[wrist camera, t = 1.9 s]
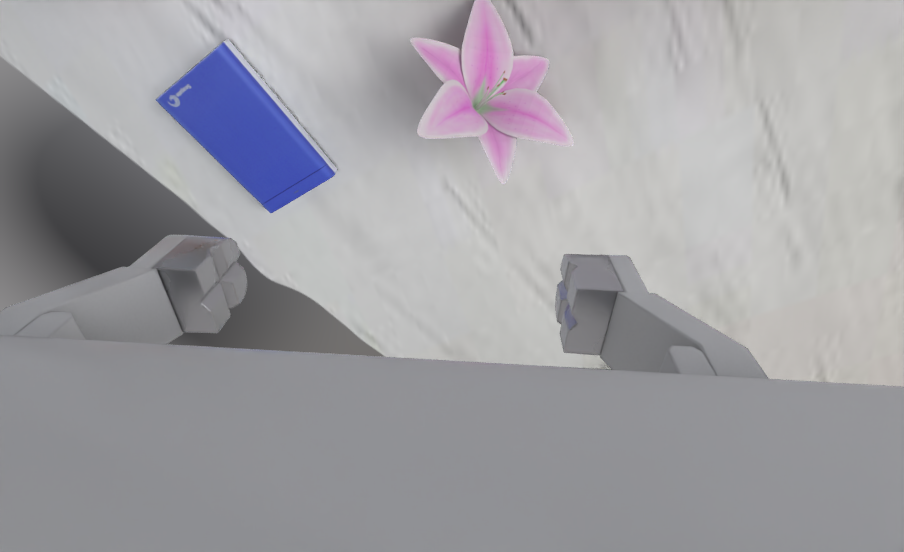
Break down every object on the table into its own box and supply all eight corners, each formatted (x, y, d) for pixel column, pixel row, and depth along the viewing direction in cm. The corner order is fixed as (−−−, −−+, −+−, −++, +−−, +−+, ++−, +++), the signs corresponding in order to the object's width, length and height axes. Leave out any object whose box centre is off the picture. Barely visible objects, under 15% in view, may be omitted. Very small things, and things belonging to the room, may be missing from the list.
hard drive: (153, 101, 36) (269, 215, 43) (220, 43, 33) (334, 176, 39) (163, 93, 37) (275, 205, 44) (229, 37, 34) (338, 167, 40)
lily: (566, 135, 38) (623, 125, 29) (448, 207, 38) (467, 220, 29) (499, -5, 35) (539, -67, 26) (370, 74, 35) (363, 41, 26)
